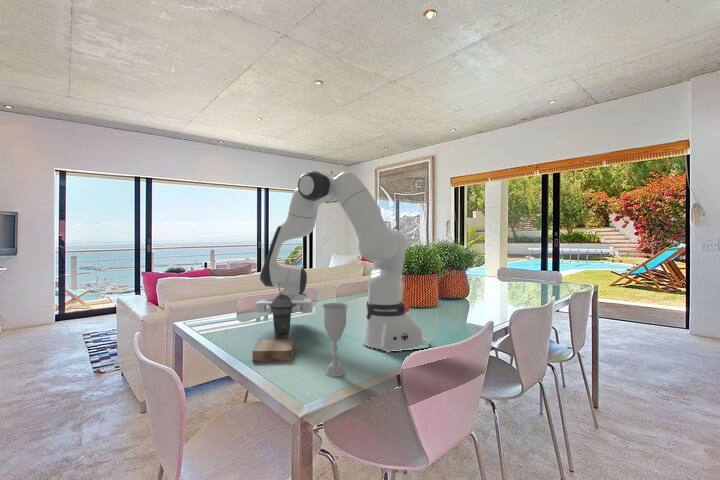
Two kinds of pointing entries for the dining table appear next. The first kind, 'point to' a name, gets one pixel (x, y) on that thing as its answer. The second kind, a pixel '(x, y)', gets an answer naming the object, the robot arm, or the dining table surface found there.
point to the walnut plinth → (274, 350)
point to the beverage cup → (281, 315)
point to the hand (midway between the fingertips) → (281, 310)
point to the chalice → (334, 332)
